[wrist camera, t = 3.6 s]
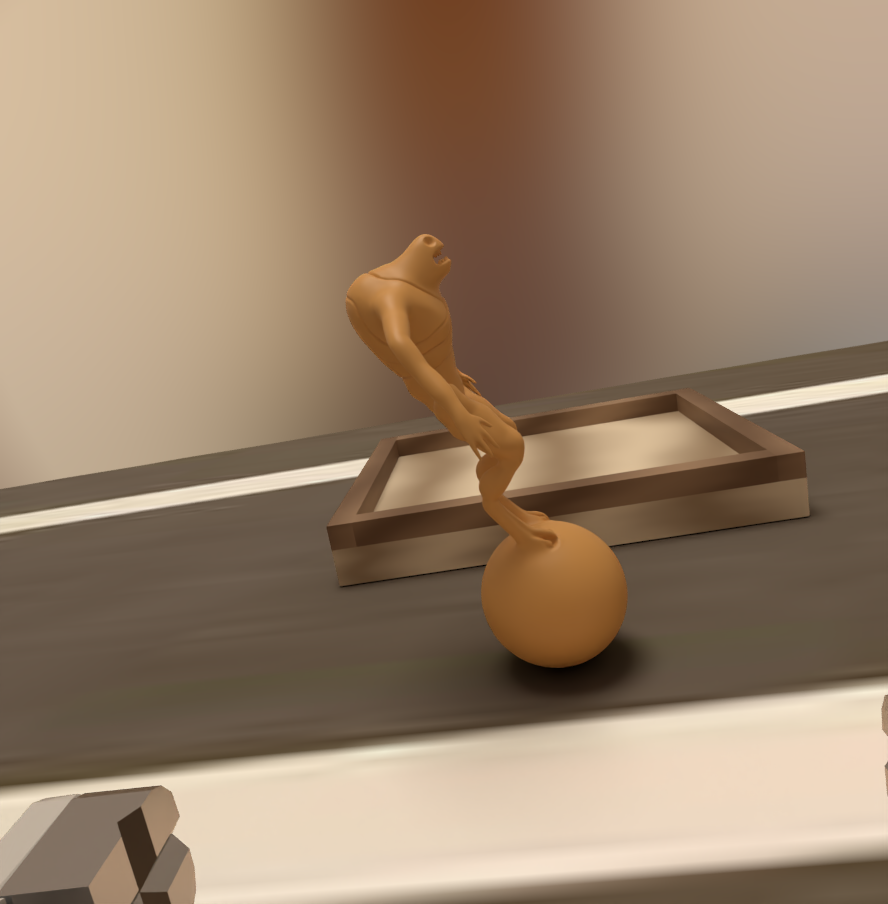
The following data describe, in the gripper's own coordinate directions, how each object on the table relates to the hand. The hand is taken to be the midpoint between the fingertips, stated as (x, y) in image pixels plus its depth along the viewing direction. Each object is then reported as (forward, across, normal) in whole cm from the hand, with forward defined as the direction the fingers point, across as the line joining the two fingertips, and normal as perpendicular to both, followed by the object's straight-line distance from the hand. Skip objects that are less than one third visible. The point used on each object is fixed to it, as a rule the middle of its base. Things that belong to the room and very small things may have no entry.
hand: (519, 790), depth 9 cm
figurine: (+12, 0, -5) cm, 13 cm away
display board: (+28, +2, -5) cm, 29 cm away
